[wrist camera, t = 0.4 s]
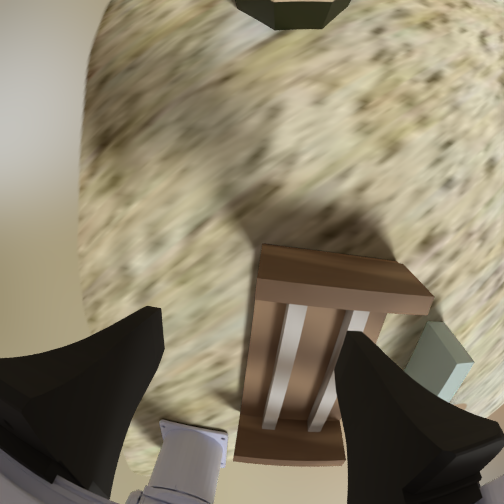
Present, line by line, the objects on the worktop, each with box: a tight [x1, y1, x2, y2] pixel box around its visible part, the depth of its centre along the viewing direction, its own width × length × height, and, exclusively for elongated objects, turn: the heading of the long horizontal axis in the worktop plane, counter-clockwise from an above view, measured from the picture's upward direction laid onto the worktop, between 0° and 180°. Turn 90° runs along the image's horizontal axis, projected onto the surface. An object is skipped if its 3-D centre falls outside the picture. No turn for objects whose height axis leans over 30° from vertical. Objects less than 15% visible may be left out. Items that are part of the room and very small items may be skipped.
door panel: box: [404, 321, 474, 403], centre depth 19 cm, size 8×2×6 cm, turn 174°
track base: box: [233, 244, 434, 466], centre depth 20 cm, size 18×10×6 cm, turn 174°
